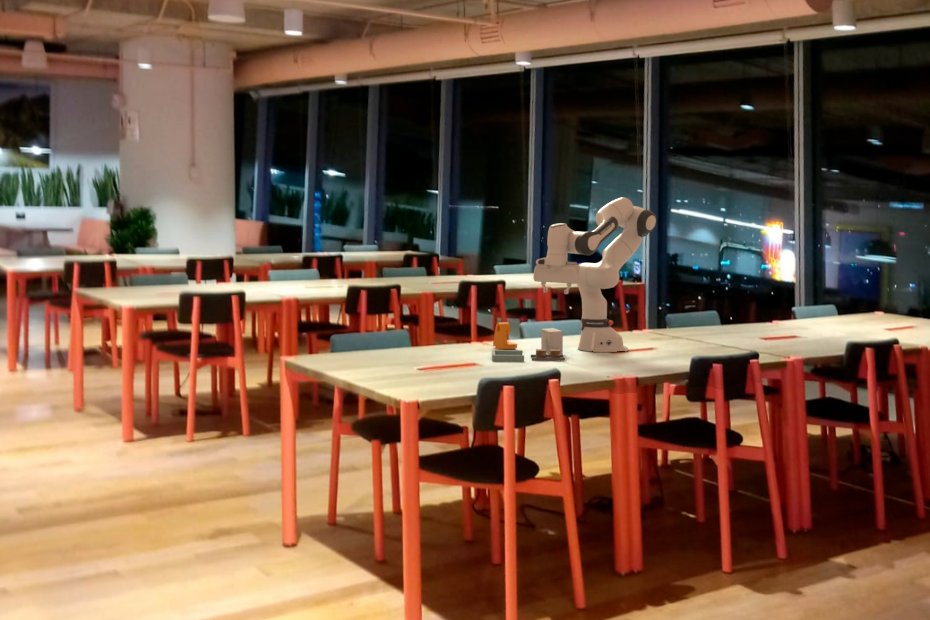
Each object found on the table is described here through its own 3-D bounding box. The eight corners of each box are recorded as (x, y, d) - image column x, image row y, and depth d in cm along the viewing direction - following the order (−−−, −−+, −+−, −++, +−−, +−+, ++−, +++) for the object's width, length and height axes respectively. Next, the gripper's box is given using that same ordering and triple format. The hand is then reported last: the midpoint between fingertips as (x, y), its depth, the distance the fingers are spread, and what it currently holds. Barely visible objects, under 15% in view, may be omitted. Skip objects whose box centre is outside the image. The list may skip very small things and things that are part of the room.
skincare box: (540, 351, 456) (540, 328, 455) (553, 351, 458) (554, 327, 457) (549, 355, 446) (549, 331, 445) (563, 354, 448) (563, 330, 447)
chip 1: (545, 358, 437) (545, 349, 437) (545, 360, 433) (546, 350, 433) (535, 358, 437) (535, 349, 437) (536, 359, 433) (536, 350, 433)
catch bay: (522, 356, 442) (522, 350, 442) (524, 361, 428) (524, 355, 428) (491, 355, 442) (491, 350, 442) (492, 361, 428) (492, 355, 428)
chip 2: (559, 358, 437) (559, 349, 437) (560, 360, 433) (560, 350, 433) (549, 358, 437) (550, 349, 437) (550, 360, 433) (550, 350, 433)
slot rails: (563, 357, 439) (563, 354, 439) (565, 360, 431) (565, 357, 431) (530, 357, 439) (530, 354, 439) (532, 360, 431) (532, 357, 431)
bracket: (517, 349, 461) (518, 323, 459) (503, 350, 458) (503, 324, 456) (507, 346, 470) (507, 320, 469) (493, 347, 467) (493, 321, 466)
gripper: (582, 262, 439) (581, 294, 440) (538, 259, 447) (536, 291, 449) (577, 262, 433) (576, 295, 434) (532, 260, 442) (531, 292, 443)
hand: (555, 293), depth 442 cm, fingers open, 8 cm apart
